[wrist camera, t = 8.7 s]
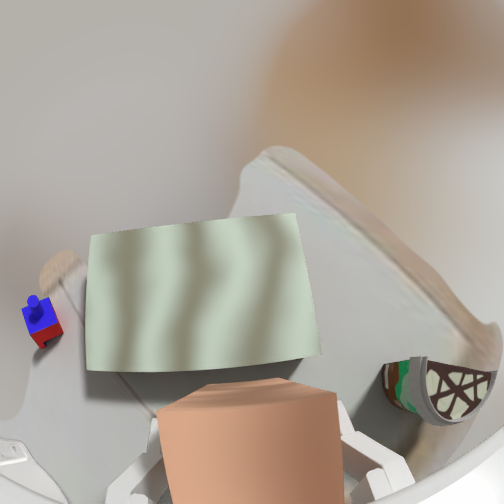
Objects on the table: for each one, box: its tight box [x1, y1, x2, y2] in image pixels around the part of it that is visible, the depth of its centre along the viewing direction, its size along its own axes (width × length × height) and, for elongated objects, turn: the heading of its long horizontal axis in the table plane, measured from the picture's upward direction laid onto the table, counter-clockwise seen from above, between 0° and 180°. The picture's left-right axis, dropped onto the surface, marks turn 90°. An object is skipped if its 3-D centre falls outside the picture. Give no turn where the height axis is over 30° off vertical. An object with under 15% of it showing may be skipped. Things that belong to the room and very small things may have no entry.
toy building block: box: [22, 295, 64, 349], centre depth 25 cm, size 4×4×8 cm
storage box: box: [85, 213, 322, 372], centre depth 28 cm, size 23×15×5 cm, turn 97°
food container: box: [382, 356, 497, 426], centre depth 22 cm, size 12×6×10 cm, turn 71°
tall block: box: [156, 378, 345, 504], centre depth 9 cm, size 4×4×10 cm
